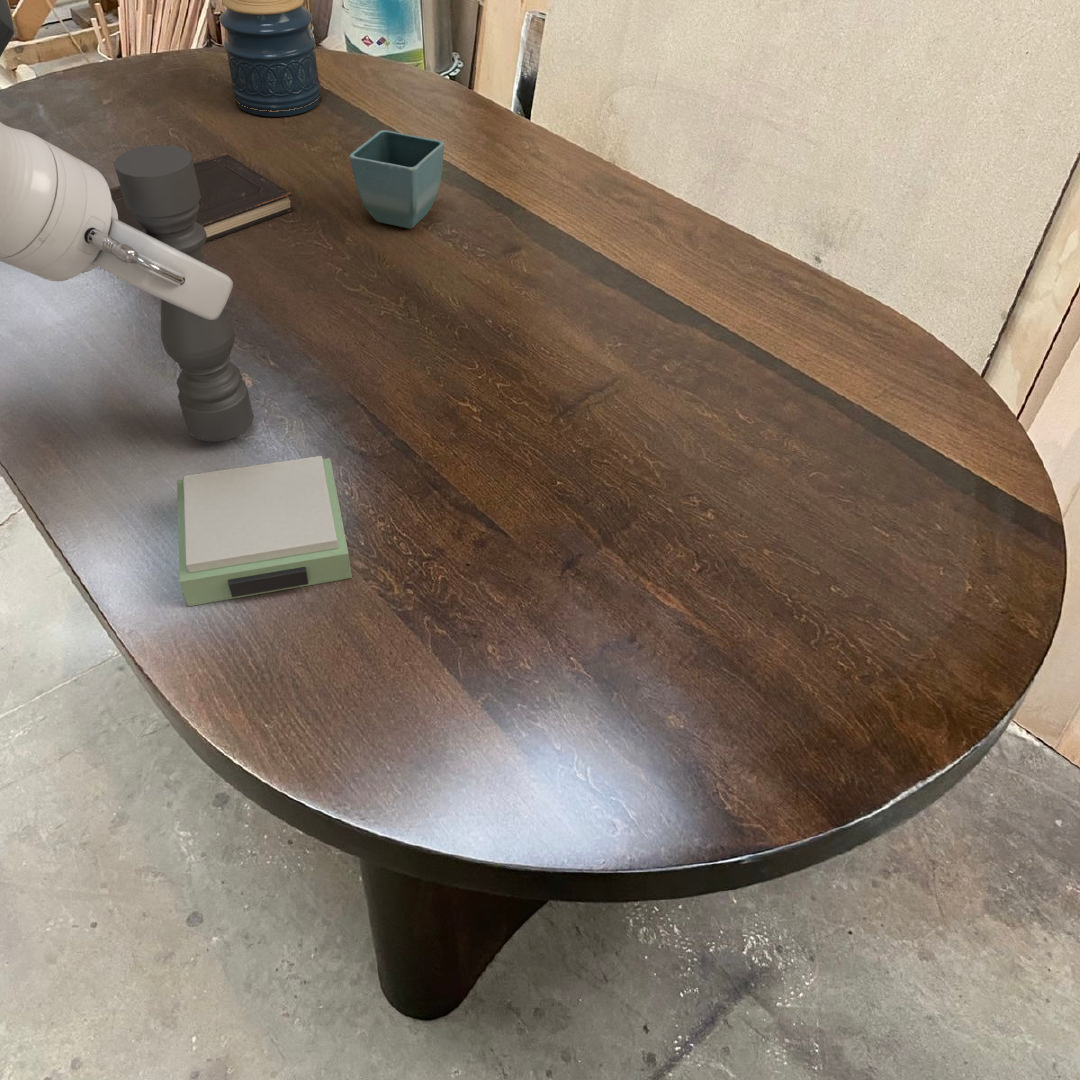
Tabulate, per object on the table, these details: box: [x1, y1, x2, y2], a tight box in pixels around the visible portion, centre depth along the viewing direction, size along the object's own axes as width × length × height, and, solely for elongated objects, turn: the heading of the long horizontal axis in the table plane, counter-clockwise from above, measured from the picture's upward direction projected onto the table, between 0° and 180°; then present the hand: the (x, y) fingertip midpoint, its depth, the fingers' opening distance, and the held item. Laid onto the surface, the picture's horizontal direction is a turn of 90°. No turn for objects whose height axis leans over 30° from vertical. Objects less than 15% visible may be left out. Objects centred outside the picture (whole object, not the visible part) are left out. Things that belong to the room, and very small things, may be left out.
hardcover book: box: [109, 152, 295, 244], centre depth 120 cm, size 16×23×2 cm
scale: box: [176, 455, 353, 607], centre depth 80 cm, size 13×12×4 cm
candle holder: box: [113, 144, 254, 442], centre depth 82 cm, size 6×6×25 cm
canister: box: [219, 0, 322, 118], centre depth 140 cm, size 13×13×18 cm
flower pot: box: [349, 129, 445, 230], centre depth 119 cm, size 9×9×9 cm
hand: (190, 281), depth 81 cm, fingers closed on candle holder, 4 cm apart
